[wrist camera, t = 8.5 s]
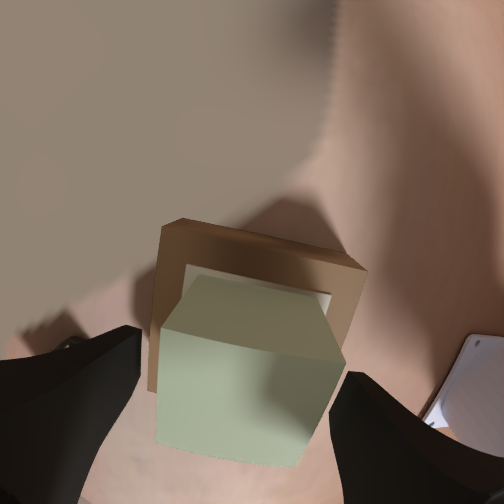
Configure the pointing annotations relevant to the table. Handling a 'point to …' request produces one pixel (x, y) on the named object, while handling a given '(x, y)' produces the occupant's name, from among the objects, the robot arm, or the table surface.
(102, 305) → the table surface
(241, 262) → the base block
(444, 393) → the robot arm
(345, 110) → the table surface
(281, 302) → the cube
